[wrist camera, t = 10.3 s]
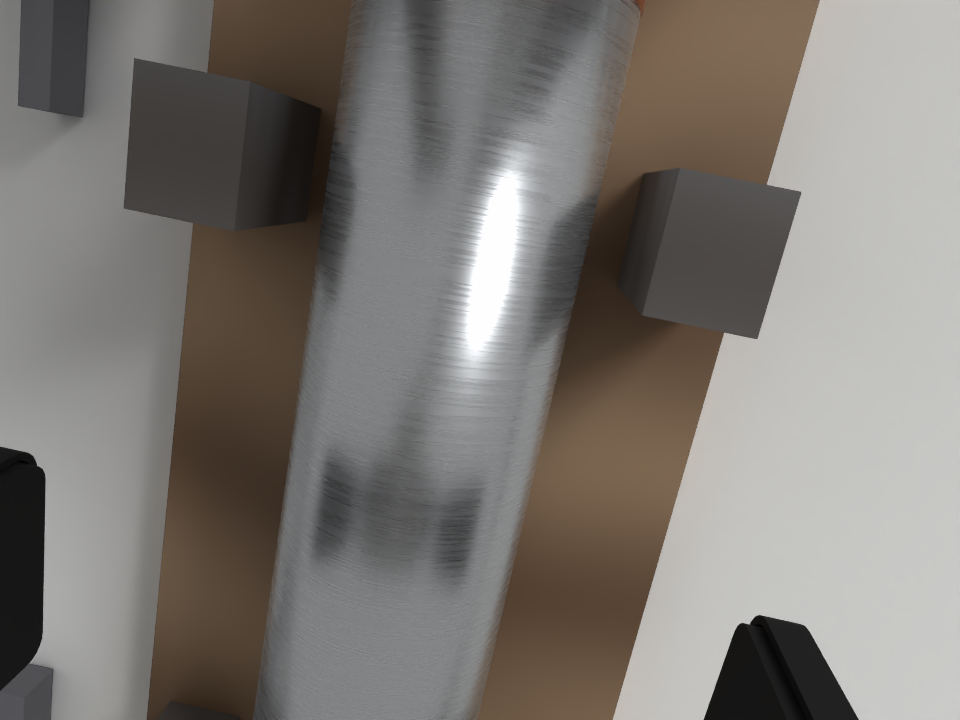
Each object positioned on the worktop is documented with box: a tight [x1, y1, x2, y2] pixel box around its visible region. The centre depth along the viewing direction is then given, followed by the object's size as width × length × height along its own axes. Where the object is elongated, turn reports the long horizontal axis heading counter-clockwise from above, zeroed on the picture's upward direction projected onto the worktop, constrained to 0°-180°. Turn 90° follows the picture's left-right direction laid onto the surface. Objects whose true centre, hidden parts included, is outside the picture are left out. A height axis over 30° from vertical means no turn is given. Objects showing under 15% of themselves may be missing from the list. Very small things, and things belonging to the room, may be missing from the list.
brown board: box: [124, 0, 820, 720], centre depth 11 cm, size 32×10×9 cm, turn 169°
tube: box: [253, 0, 646, 720], centre depth 12 cm, size 24×4×4 cm, turn 169°
